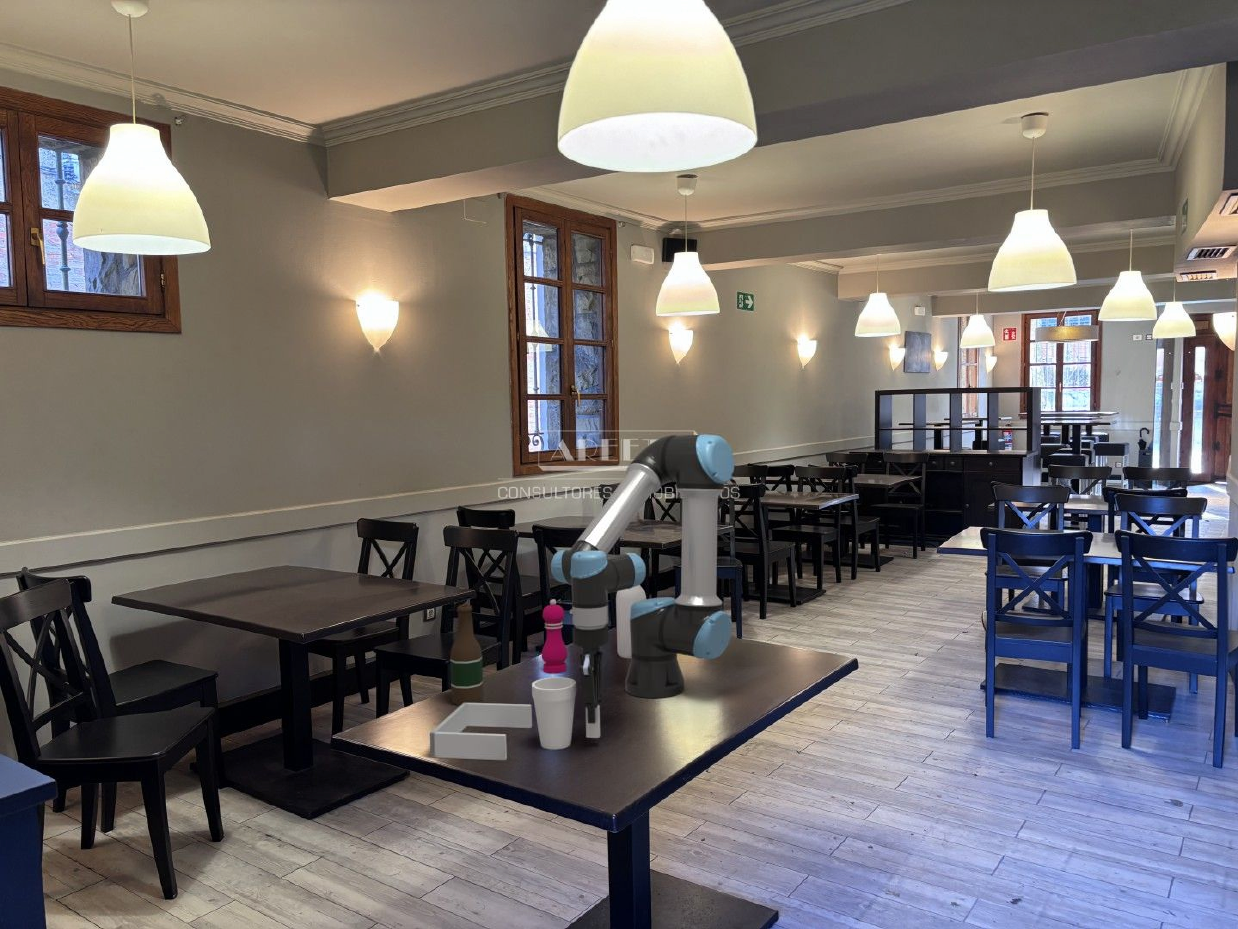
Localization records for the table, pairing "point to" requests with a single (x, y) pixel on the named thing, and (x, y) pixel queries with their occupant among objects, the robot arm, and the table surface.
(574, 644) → the robot arm
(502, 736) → the box
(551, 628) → the pepper mill
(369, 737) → the table surface
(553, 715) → the foam cup
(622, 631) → the alcohol
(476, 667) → the beer bottle
